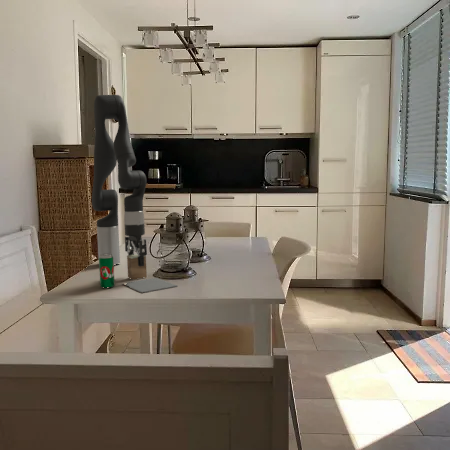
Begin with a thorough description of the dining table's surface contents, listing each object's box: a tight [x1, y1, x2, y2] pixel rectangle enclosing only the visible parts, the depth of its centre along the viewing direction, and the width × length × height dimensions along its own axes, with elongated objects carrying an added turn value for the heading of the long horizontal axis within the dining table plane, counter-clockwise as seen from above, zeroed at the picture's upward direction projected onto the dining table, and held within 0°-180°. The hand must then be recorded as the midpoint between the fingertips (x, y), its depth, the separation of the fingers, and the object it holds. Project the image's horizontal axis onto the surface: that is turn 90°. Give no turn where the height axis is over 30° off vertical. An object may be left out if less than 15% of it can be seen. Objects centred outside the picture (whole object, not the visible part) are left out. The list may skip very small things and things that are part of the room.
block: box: [126, 253, 148, 280], centre depth 186 cm, size 4×6×9 cm, turn 126°
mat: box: [126, 277, 178, 293], centre depth 174 cm, size 16×14×1 cm
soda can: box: [98, 253, 116, 289], centre depth 172 cm, size 5×5×12 cm
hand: (136, 264), depth 185 cm, fingers open, 8 cm apart
